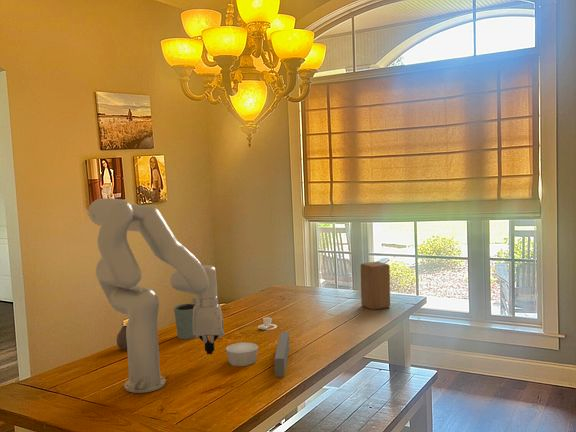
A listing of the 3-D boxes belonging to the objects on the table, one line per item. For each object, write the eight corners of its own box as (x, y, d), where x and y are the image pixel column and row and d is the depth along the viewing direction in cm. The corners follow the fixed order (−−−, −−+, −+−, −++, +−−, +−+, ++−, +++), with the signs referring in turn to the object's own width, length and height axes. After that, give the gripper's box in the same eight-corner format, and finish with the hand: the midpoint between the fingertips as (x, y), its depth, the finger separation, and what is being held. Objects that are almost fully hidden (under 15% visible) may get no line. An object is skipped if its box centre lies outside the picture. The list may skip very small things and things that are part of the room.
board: (284, 376, 185) (283, 358, 184) (275, 376, 185) (274, 358, 184) (289, 347, 213) (288, 331, 212) (281, 347, 213) (280, 331, 212)
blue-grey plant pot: (176, 341, 225) (174, 311, 224) (174, 333, 235) (172, 304, 233) (202, 338, 228) (201, 308, 226) (199, 330, 237) (198, 302, 236)
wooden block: (360, 305, 267) (359, 263, 265) (378, 302, 271) (377, 260, 269) (372, 310, 258) (371, 266, 256) (391, 307, 262) (390, 264, 260)
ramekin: (223, 358, 204) (223, 344, 203) (254, 354, 206) (254, 340, 206) (229, 369, 193) (228, 354, 192) (261, 365, 196) (261, 350, 195)
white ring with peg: (262, 332, 233) (262, 322, 233) (252, 328, 240) (252, 318, 240) (280, 328, 238) (280, 318, 238) (270, 323, 245) (270, 314, 244)
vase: (129, 344, 222) (127, 322, 221) (140, 348, 218) (138, 325, 217) (113, 349, 217) (112, 327, 216) (124, 353, 213) (122, 330, 212)
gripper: (182, 305, 195) (186, 357, 197) (226, 304, 194) (229, 356, 196) (187, 299, 202) (191, 349, 205) (230, 298, 201) (233, 348, 204)
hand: (210, 353), depth 200 cm, fingers closed
